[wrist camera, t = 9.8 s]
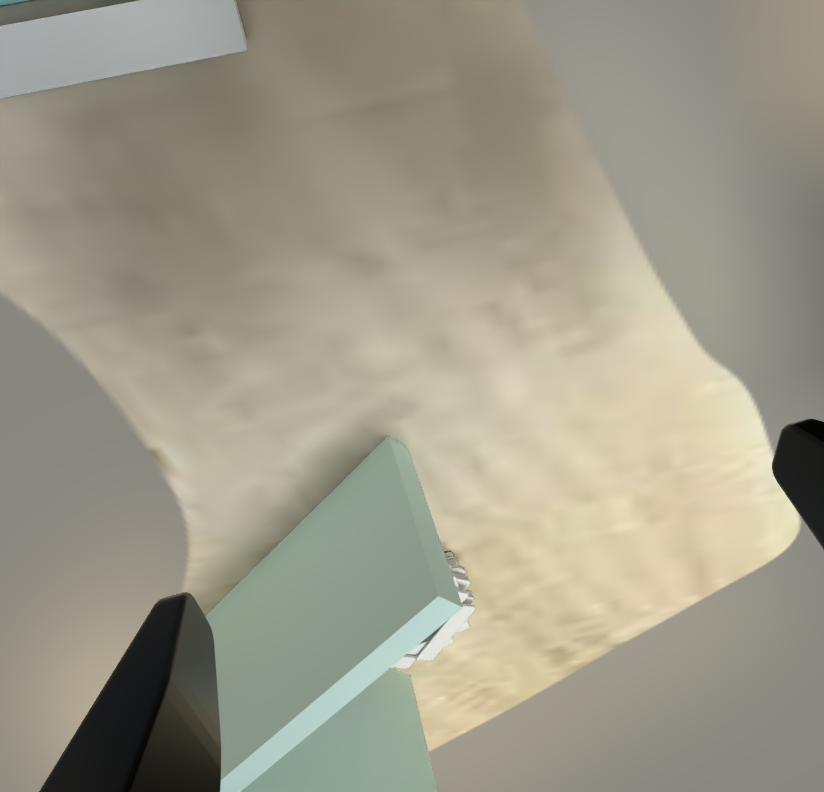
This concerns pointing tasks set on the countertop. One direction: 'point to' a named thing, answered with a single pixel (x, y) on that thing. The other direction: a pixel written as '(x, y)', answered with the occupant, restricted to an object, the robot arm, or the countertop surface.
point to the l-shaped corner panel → (338, 641)
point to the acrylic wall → (115, 42)
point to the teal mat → (11, 2)
